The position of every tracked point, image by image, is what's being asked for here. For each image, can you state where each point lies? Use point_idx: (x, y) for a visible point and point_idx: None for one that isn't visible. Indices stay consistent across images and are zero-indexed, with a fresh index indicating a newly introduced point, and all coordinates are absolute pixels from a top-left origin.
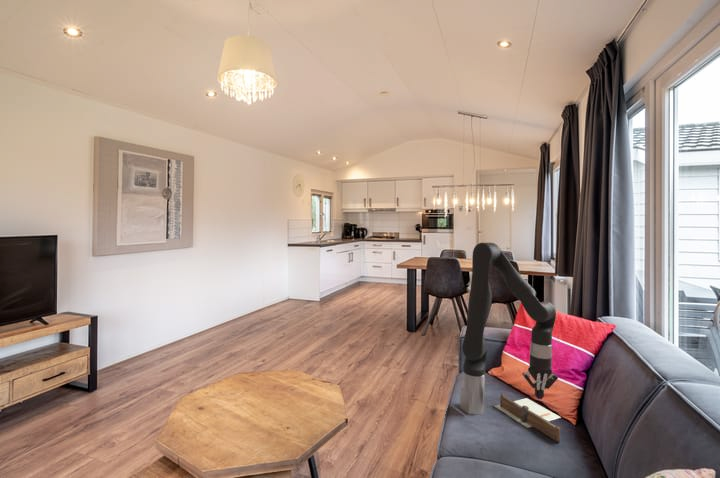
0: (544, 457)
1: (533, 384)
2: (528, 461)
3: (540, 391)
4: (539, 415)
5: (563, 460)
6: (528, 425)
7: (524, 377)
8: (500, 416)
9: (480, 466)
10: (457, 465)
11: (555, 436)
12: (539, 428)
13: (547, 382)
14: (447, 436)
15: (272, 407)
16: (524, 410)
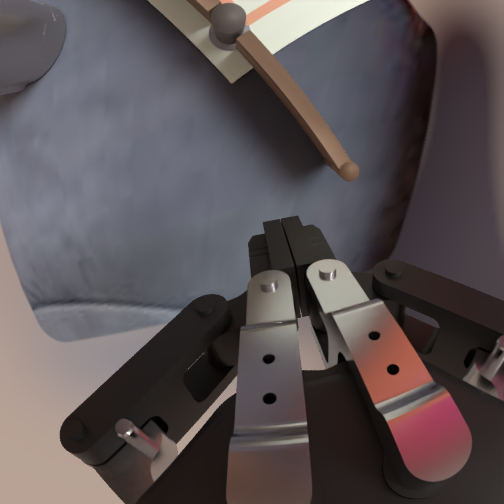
0: None
1: (224, 381)
2: (205, 281)
3: (299, 304)
4: None
5: None
6: (238, 64)
7: (103, 405)
8: (127, 29)
9: (98, 323)
10: (62, 328)
11: (328, 163)
12: (280, 97)
13: (426, 299)
14: (6, 240)
15: None
16: (220, 33)
